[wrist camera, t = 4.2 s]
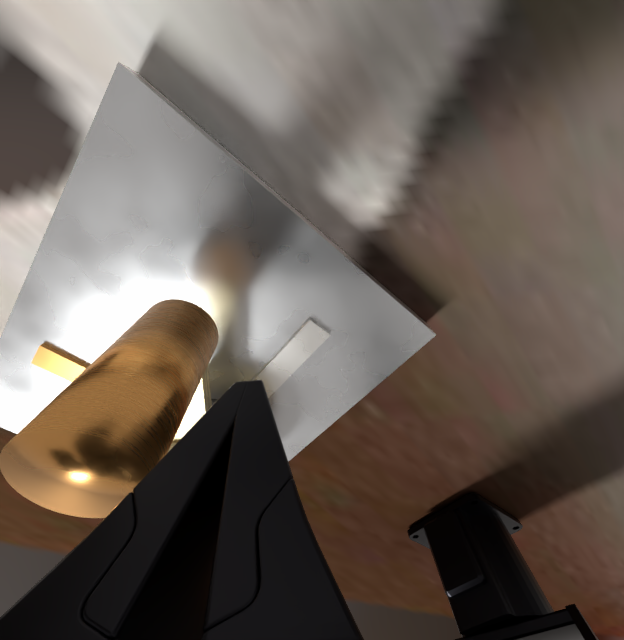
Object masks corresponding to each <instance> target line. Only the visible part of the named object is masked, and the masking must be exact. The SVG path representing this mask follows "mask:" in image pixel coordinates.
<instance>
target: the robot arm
mask: <svg viewBox="0 0 624 640" xmlns="http://www.w3.org/2000/svg"><path fill="white" fill-rule="evenodd" d="M522 527H523V526H522V524H521V523H520V521H519V520H518V519H517V518H515V517H513V516H512V515H510V514H509V513H507V512H505V511H504V510H502V509H501V508H499V507H497V506H496V505H494V504H493V503H491V502H489V501H488V500H486V499H485V498H483V497H481V496H480V495H478V494H476V493H470V494H468V495H466V496H464V497H463V498H461V499H459V500H458V501H456V502H454V503H453V504H451V505H449V506H448V507H446V508H444V509H443V510H441V511H439V512H437V513H436V514H434V515H432V516H431V517H429V518H427V519H426V520H424V521H422V522H421V523H419V524H417V525H416V526H414V527H412V528H411V529H409V530H408V535H409V538H410V539H411V540H413V541H415V542H417V543H419V544H421V545H423V546H425V547H427V548H429V549H431V552H432V555H433V558H434V561H435V564H436V567H437V569H438V572H439V575H440V578H441V581H442V584H443V587H444V590H445V593H446V595H447V597H448V599H449V602H450V605H451V608H452V611H453V614H454V617H455V620H456V623H457V626H458V629H459V632H460V634H462V638H459V639H455V640H598V638H597V637H596V635H595V633H594V632H593V630H592V629H591V627H590V626H589V624H588V623H587V621H586V620H585V618H584V617H583V615H582V614H581V612H580V611H579V610H578V608H577V607H576V605H575V604H572V605H568V606H565V607H566V609H562V610H559V611H555V612H554V611H553V609H552V607H551V605H550V604H549V602H548V600H547V598H546V597H545V595H544V593H543V591H542V590H541V588H540V586H539V584H538V582H537V581H536V579H535V577H534V575H533V574H532V572H531V570H530V568H529V567H528V565H527V563H526V561H525V560H524V558H523V556H522V554H521V553H520V551H519V549H518V547H517V546H516V544H515V542H514V540H513V538H512V537H511V534H513V533H515V532H517V531H519V530H521V529H522ZM0 640H364V639H363V637H362V635H361V633H360V631H359V629H358V627H357V625H356V623H355V621H354V619H353V616H352V614H351V612H350V610H349V608H348V606H347V604H346V602H345V600H344V597H343V595H342V593H341V591H340V589H339V587H338V585H337V583H336V581H335V579H334V576H333V574H332V572H331V570H330V568H329V566H328V564H327V562H326V560H325V558H324V555H323V553H322V551H321V549H320V547H319V545H318V542H317V540H316V538H315V536H314V533H313V531H312V529H311V526H310V524H309V522H308V520H307V517H306V514H305V511H304V508H303V506H302V503H301V500H300V497H299V494H298V491H297V488H296V485H295V481H294V480H293V476H292V472H291V469H290V466H289V463H288V460H287V456H286V453H285V450H284V447H283V444H282V441H281V437H280V434H279V431H278V428H277V425H276V421H275V418H274V415H273V412H272V409H271V405H270V402H269V399H268V396H267V393H266V390H265V386H264V383H263V381H262V380H252V381H240V382H235V383H234V384H233V385H232V386H231V387H230V388H229V389H228V390H227V391H226V392H225V393H224V394H223V395H222V396H221V397H220V398H219V399H218V400H217V401H216V402H215V404H214V405H213V406H212V407H211V408H210V409H209V410H208V411H207V412H206V413H205V414H204V415H203V416H202V417H201V418H200V419H199V420H198V421H197V422H196V423H195V425H194V426H193V427H192V428H191V429H190V430H189V431H188V432H187V433H186V434H185V435H184V436H183V437H182V438H181V439H180V440H179V441H178V442H177V443H176V444H175V445H174V447H173V448H172V449H171V450H170V451H169V452H168V453H167V454H166V455H165V456H164V457H163V458H162V459H161V460H160V461H159V462H158V463H157V464H156V465H155V466H154V468H153V469H152V470H151V471H150V472H149V473H148V474H147V475H146V476H145V477H144V478H143V479H142V480H141V481H140V482H139V483H138V484H137V485H136V486H135V487H134V489H133V492H130V493H129V494H128V495H127V496H126V497H125V498H124V499H123V500H122V501H121V502H120V503H119V504H118V505H117V506H116V507H115V508H114V509H113V510H112V511H111V512H110V513H109V514H108V515H107V516H106V517H105V518H104V519H103V520H102V521H101V522H100V523H99V525H98V526H97V527H96V528H95V529H94V530H93V531H92V532H91V533H90V534H89V535H88V536H87V537H86V538H84V539H83V540H82V541H81V542H80V543H79V544H78V545H77V546H76V547H75V548H74V549H73V550H72V551H71V552H70V553H69V554H68V555H67V556H66V557H65V558H64V559H62V560H61V562H59V563H58V564H57V565H56V566H55V567H54V568H53V569H52V570H51V571H50V572H49V573H48V574H46V575H45V576H44V577H43V578H42V579H41V580H40V581H39V582H38V583H37V584H36V585H34V586H33V587H32V588H31V589H30V590H29V591H28V592H27V593H26V594H25V595H24V596H23V597H22V598H20V600H18V601H17V602H16V603H15V604H14V605H13V606H12V607H11V608H10V609H9V610H7V611H6V612H5V613H4V614H3V615H2V616H1V617H0Z"/></svg>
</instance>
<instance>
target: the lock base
mask: <svg viewBox="0 0 624 640" xmlns="http://www.w3.org/2000/svg"><path fill="white" fill-rule="evenodd" d="M169 299H179V300H185V301H188V302H191V303H193V304H196V305H198V306H199V307H201V308H202V309H203V310H205V311H206V312H207V313H208V314H209V315H210V316H211V317H212V319H213V320H214V322H215V324H216V326H217V329H218V335H219V337H218V344H217V347H216V349H215V351H214V353H213V355H212V357H211V360H210V362H209V364H208V369H209V380H210V391H211V401H212V406H213V405H214V404H215V402H216V401H217V400H218V399H219V398H220V397H221V396H222V395H223V394H224V393H225V392H226V391H227V390H228V389H229V388H230V387H231V386H232V385H233V384H234V383H235V382H240V381H252V380H262V381H263V383H264V386H265V390H266V393H267V396H268V399H269V402H270V405H271V409H272V412H273V415H274V418H275V421H276V425H277V428H278V431H279V434H280V437H281V441H282V444H283V447H284V450H285V453H286V456H287V460H288V461H289V460H291V459H292V458H293V457H294V456H295V455H296V454H298V453H299V452H300V451H301V450H302V449H304V448H305V447H306V446H307V445H308V444H309V443H311V442H312V441H313V440H314V439H315V438H316V437H318V436H319V435H320V434H321V433H322V432H323V431H325V430H326V429H327V428H328V427H329V426H330V425H332V424H333V423H334V422H335V421H336V420H337V419H339V418H340V417H341V416H342V415H343V414H344V413H346V412H347V411H348V410H349V409H350V408H351V407H353V406H354V405H355V404H356V403H357V402H358V401H360V400H361V399H362V398H363V397H364V396H365V395H367V394H368V393H369V392H370V391H371V390H372V389H374V388H375V387H376V386H377V385H378V384H379V383H381V382H382V381H383V380H384V379H385V378H387V377H388V376H389V375H390V374H391V373H392V372H394V371H395V370H396V369H397V368H398V367H399V366H401V365H402V364H403V363H404V362H405V361H406V360H408V359H409V358H410V357H411V356H412V355H413V354H415V353H416V352H417V351H418V350H419V349H420V348H422V347H423V346H424V345H425V344H426V343H427V342H429V341H430V340H431V339H432V338H433V337H434V336H436V334H435V333H434V331H433V330H432V329H431V328H430V326H429V325H428V324H427V323H426V322H425V321H424V320H423V319H422V318H421V317H419V316H418V315H417V314H416V313H415V312H414V311H412V310H411V309H410V308H409V307H408V306H407V305H405V304H404V303H403V302H402V301H401V300H400V299H399V298H397V297H396V296H395V295H394V294H393V293H392V292H390V291H389V290H388V289H387V288H386V287H385V286H384V285H382V284H381V283H380V282H379V281H378V280H377V279H375V278H374V277H373V276H372V275H371V274H370V273H368V272H367V271H366V270H365V269H364V268H363V267H362V266H360V265H359V264H358V263H357V262H356V261H355V260H353V259H352V258H351V257H350V256H349V255H348V254H347V253H345V252H344V251H343V250H342V249H341V248H340V247H338V246H337V245H336V244H335V243H334V242H333V241H331V240H330V239H329V238H328V237H327V236H326V235H325V234H323V233H322V232H321V231H320V230H319V229H318V228H316V227H315V226H314V225H313V224H312V223H311V222H310V221H308V220H307V219H306V218H305V217H304V216H303V215H301V214H300V213H299V212H298V211H297V210H296V209H294V208H293V207H292V206H291V205H290V204H289V203H288V202H286V201H285V200H284V199H283V198H282V197H281V196H279V195H278V194H277V193H276V192H275V191H274V190H273V189H271V188H270V187H269V186H268V185H267V184H266V183H264V182H263V181H262V180H261V179H260V178H259V177H257V176H256V175H255V174H254V173H253V172H252V171H251V170H249V169H248V168H247V167H246V166H245V165H244V164H242V163H241V162H240V161H239V160H238V159H237V158H236V157H234V156H233V155H232V154H231V153H230V152H229V151H227V150H226V149H225V148H224V147H223V146H222V145H221V144H219V143H218V142H217V141H216V140H215V139H214V138H212V137H211V136H210V135H209V134H208V133H207V132H205V131H204V130H203V129H202V128H201V127H200V126H199V125H197V124H196V123H195V122H194V121H193V120H192V119H190V118H189V117H188V116H187V115H186V114H185V113H184V112H182V111H181V110H180V109H179V108H178V107H177V106H175V105H174V104H173V103H172V102H171V101H170V100H168V99H167V98H166V97H165V96H164V95H163V94H162V93H160V92H159V91H158V90H157V89H156V88H155V87H153V86H152V85H151V84H150V83H149V82H148V81H147V80H145V79H144V78H143V77H142V76H141V75H140V74H138V73H137V72H135V71H133V70H131V69H130V68H128V67H126V66H124V65H123V64H121V63H119V62H118V64H117V67H116V69H115V71H114V74H113V76H112V78H111V81H110V83H109V85H108V88H107V90H106V92H105V95H104V97H103V99H102V102H101V104H100V106H99V109H98V111H97V113H96V116H95V118H94V120H93V123H92V125H91V127H90V130H89V132H88V134H87V137H86V139H85V141H84V144H83V146H82V148H81V151H80V153H79V155H78V158H77V160H76V162H75V165H74V167H73V169H72V172H71V174H70V176H69V179H68V181H67V183H66V186H65V188H64V190H63V193H62V195H61V198H60V200H59V202H58V205H57V207H56V209H55V212H54V214H53V216H52V219H51V221H50V223H49V226H48V228H47V230H46V233H45V235H44V237H43V240H42V242H41V244H40V247H39V249H38V251H37V254H36V256H35V258H34V261H33V263H32V265H31V268H30V270H29V272H28V275H27V277H26V279H25V282H24V284H23V286H22V289H21V291H20V293H19V296H18V298H17V300H16V303H15V305H14V307H13V310H12V312H11V314H10V317H9V319H8V321H7V324H6V326H5V328H4V331H3V333H2V335H1V338H0V427H1V428H4V429H6V430H9V431H12V432H14V433H17V434H18V433H19V432H20V431H21V430H22V429H23V428H24V427H25V426H26V425H27V424H28V423H29V422H30V421H31V420H33V419H34V418H35V417H36V416H37V415H38V414H39V413H40V412H41V411H42V410H43V409H44V408H45V407H46V406H47V405H48V404H49V403H50V402H51V401H53V400H54V399H55V398H56V397H57V396H58V395H59V394H60V393H61V392H62V391H63V390H64V389H65V388H66V387H67V386H68V385H69V384H70V383H71V382H73V381H74V380H75V379H76V378H77V377H78V376H79V375H80V374H81V373H82V372H83V371H84V370H85V369H86V368H87V367H88V366H89V365H90V364H91V363H93V362H94V361H95V360H96V359H97V358H98V357H99V356H100V355H101V354H102V353H103V352H104V351H105V350H106V349H107V348H108V347H109V346H110V345H111V344H113V343H114V342H115V341H116V340H117V339H118V338H119V337H120V336H121V335H122V334H123V333H124V332H125V331H126V330H127V329H128V328H129V327H130V326H131V325H132V324H134V323H135V322H136V321H137V320H138V319H139V318H140V317H141V316H142V315H143V314H144V313H145V312H146V311H147V310H148V309H149V308H150V307H152V306H153V305H154V304H156V303H158V302H160V301H164V300H169Z"/></svg>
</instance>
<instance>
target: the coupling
mask: <svg viewBox="0 0 624 640" xmlns="http://www.w3.org/2000/svg"><path fill="white" fill-rule="evenodd" d="M218 337H219V335H218V329H217V326H216V324H215V322H214V320H213V319H212V317H211V316H210V315H209V314H208V313H207V312H206V311H205V310H203V309H202V308H201V307H199V306H198V305H196V304H193V303H191V302H188V301H185V300H179V299H169V300H164V301H160V302H158V303H156V304H154V305H153V306H152V307H150V308H149V309H148V310H147V311H146V312H145V313H144V314H143V315H142V316H141V317H140V318H139V319H138V320H137V321H136V322H135V323H134V324H132V325H131V326H130V327H129V328H128V329H127V330H126V331H125V332H124V333H123V334H122V335H121V336H120V337H119V338H118V339H117V340H116V341H115V342H114V343H113V344H111V345H110V346H109V347H108V348H107V349H106V350H105V351H104V352H103V353H102V354H101V355H100V356H99V357H98V358H97V359H96V360H95V361H94V362H93V363H91V364H90V365H89V366H88V367H87V368H86V369H85V370H84V371H83V372H82V373H81V374H80V375H79V376H78V377H77V378H76V379H75V380H74V381H73V382H71V383H70V384H69V385H68V386H67V387H66V388H65V389H64V390H63V391H62V392H61V393H60V394H59V395H58V396H57V397H56V398H55V399H54V400H53V401H51V402H50V403H49V404H48V405H47V406H46V407H45V408H44V409H43V410H42V411H41V412H40V413H39V414H38V415H37V416H36V417H35V418H34V419H33V420H31V421H30V422H29V423H28V424H27V425H26V426H25V427H24V428H23V429H22V430H21V431H20V432H19V433H18V434H17V435H16V436H15V437H14V438H13V439H11V440H10V441H9V442H8V443H7V444H6V446H5V447H4V448H3V449H2V451H1V454H0V469H1V472H2V474H3V476H4V478H5V479H6V480H7V482H8V483H9V484H10V485H11V486H12V487H13V488H14V489H15V490H16V491H17V492H18V493H20V494H21V495H22V496H24V497H25V498H27V499H29V500H30V501H32V502H34V503H36V504H38V505H40V506H42V507H45V508H47V509H50V510H52V511H56V512H59V513H63V514H67V515H71V516H77V517H85V518H105V517H106V516H107V515H108V514H109V513H110V512H111V511H112V510H113V509H114V508H115V507H116V506H117V505H118V504H119V503H120V502H121V501H122V500H123V499H124V498H125V497H126V496H127V495H128V494H129V493H130V492H133V489H134V487H135V486H136V485H137V484H138V483H139V482H140V481H141V480H142V479H143V478H144V477H145V476H146V475H147V474H148V473H149V472H150V471H151V470H152V469H153V468H154V466H155V465H156V464H157V463H158V462H159V461H160V460H161V459H162V458H163V457H164V456H165V455H166V454H167V453H168V452H169V451H170V450H171V449H172V448H173V447H174V445H175V444H176V443H177V442H178V441H179V440H180V439H181V438H182V437H183V436H184V435H185V434H186V433H187V432H188V431H189V430H190V429H191V428H192V427H193V426H194V425H195V423H196V422H197V421H198V420H199V419H200V418H201V417H202V416H203V415H204V414H205V413H206V412H207V411H208V410H209V409H210V408H211V407H212V401H211V391H210V380H209V369H208V364H209V362H210V360H211V357H212V355H213V353H214V351H215V349H216V347H217V344H218Z"/></svg>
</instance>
